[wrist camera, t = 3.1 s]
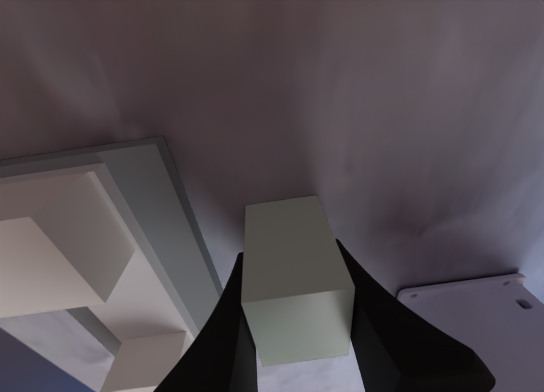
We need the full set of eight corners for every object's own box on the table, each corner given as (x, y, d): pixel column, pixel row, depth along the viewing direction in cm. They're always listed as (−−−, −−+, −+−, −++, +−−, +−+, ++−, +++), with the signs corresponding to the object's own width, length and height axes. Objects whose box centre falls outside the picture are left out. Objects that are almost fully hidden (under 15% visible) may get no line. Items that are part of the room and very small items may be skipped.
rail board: (163, 135, 11) (110, 189, 7) (241, 336, 21) (238, 407, 17) (-48, 167, 11) (-220, 238, 7) (128, 351, 21) (98, 425, 17)
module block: (316, 194, 13) (355, 287, 8) (318, 256, 16) (348, 355, 11) (245, 205, 13) (241, 303, 8) (259, 265, 16) (262, 366, 11)
